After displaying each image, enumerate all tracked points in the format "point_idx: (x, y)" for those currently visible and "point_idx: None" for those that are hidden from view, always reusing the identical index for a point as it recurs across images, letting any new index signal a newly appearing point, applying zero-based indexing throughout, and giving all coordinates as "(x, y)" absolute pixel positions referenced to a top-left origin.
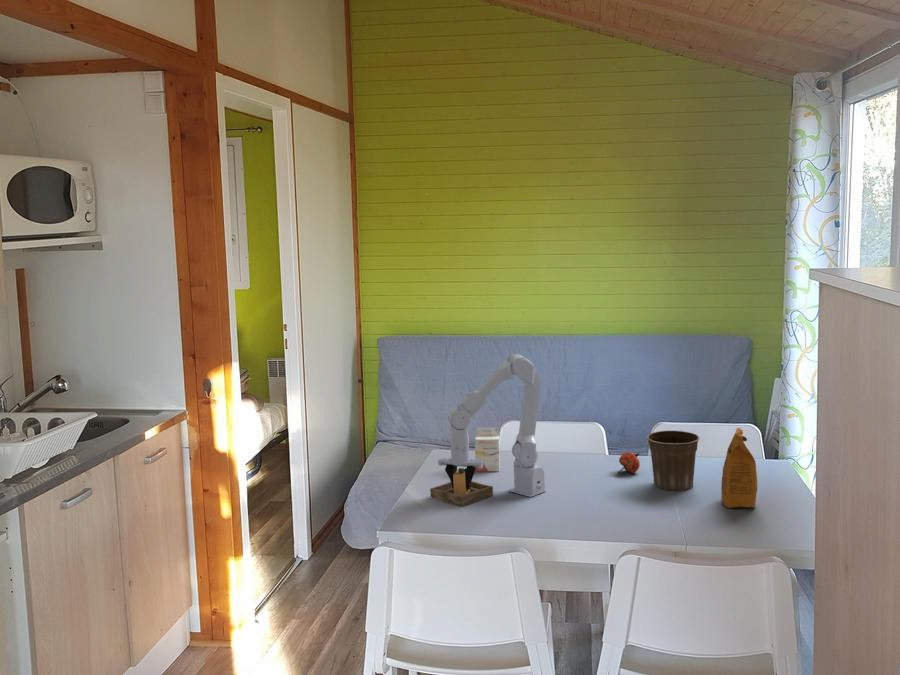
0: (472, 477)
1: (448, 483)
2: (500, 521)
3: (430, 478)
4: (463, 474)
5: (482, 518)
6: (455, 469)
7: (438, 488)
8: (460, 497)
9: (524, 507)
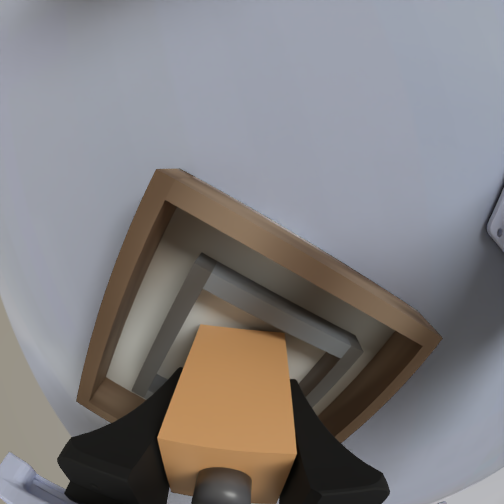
0: (325, 428)
1: (110, 321)
2: (405, 485)
3: (2, 78)
4: (261, 501)
5: None
6: (152, 475)
7: (97, 378)
8: None
9: (493, 394)
